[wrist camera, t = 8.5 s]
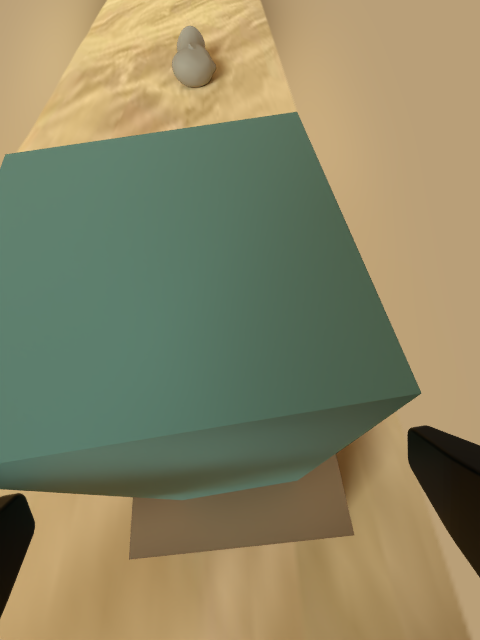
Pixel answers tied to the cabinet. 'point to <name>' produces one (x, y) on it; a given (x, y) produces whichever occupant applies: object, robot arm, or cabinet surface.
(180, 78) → the pale two-lobed sculpture
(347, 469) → the cabinet surface
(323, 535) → the walnut base block
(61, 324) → the pillar block
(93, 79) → the cabinet surface
